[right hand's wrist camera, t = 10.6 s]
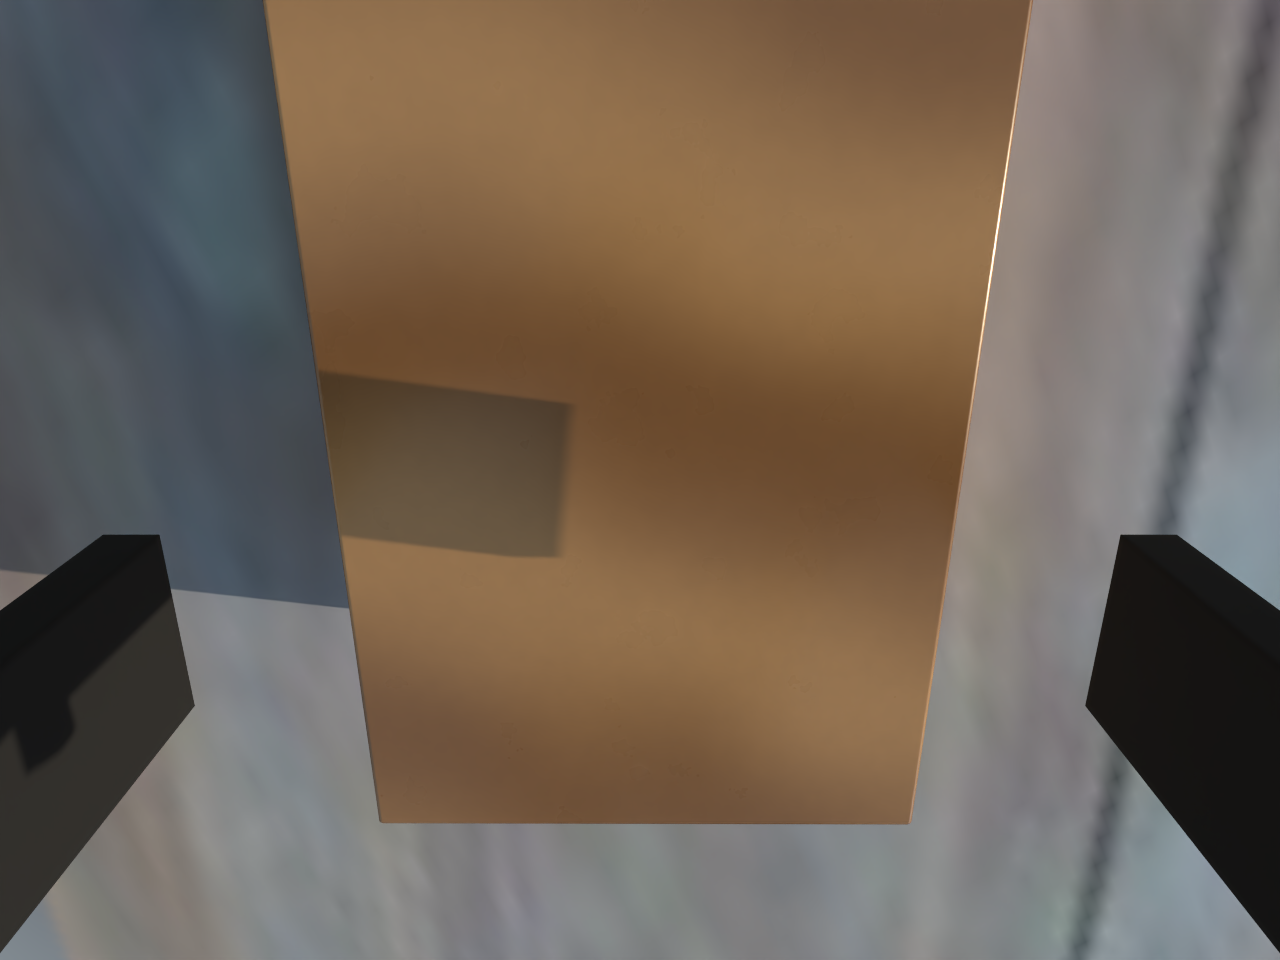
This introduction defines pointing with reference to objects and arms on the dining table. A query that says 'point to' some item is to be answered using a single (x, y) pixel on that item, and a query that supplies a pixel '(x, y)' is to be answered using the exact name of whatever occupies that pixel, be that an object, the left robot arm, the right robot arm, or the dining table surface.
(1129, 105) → the dining table surface
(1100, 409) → the dining table surface
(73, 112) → the dining table surface
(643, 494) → the wide beam
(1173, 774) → the right robot arm
